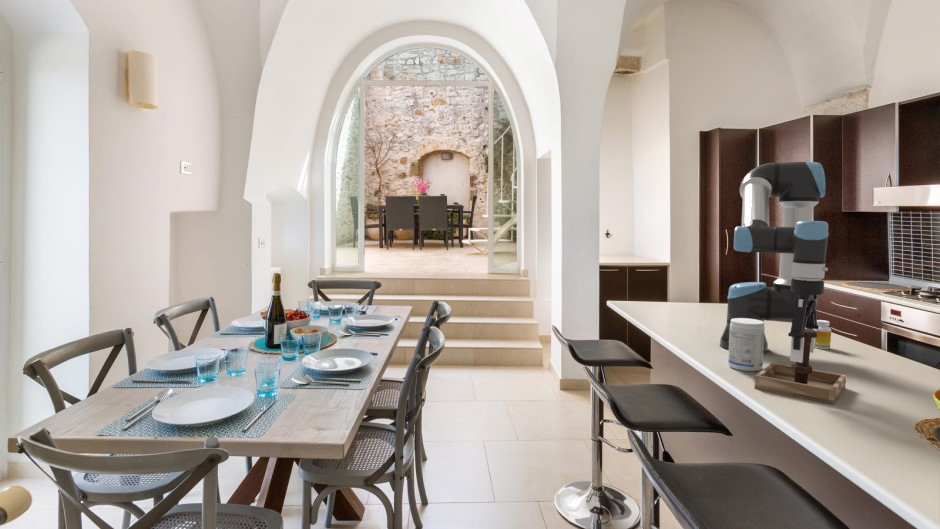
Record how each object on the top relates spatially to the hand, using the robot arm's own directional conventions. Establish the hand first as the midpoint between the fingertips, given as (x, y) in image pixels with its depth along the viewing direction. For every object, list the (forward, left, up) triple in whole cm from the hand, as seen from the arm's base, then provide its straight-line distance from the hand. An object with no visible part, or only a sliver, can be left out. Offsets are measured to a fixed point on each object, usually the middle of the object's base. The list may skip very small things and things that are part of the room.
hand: (802, 356), depth 146 cm
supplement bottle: (-59, -5, -9) cm, 60 cm away
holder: (0, 0, -9) cm, 9 cm away
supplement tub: (-11, -17, -9) cm, 22 cm away
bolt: (0, 0, -8) cm, 8 cm away
